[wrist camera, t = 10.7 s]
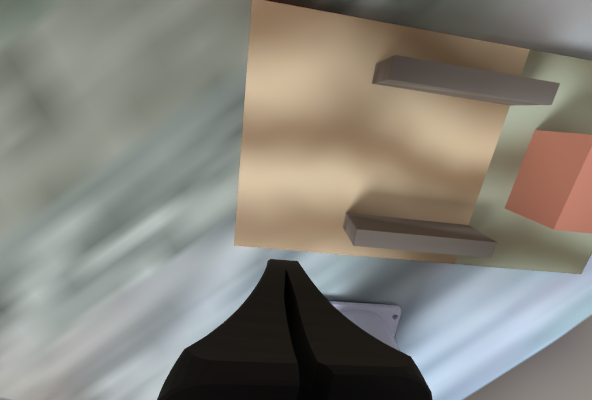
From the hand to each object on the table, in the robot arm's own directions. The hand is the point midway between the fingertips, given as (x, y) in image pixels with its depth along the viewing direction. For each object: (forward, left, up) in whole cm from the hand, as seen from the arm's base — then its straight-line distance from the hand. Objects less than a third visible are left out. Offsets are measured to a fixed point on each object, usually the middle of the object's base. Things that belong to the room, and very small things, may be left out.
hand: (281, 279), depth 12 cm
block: (+5, -20, -8) cm, 23 cm away
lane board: (+5, -13, -9) cm, 17 cm away
